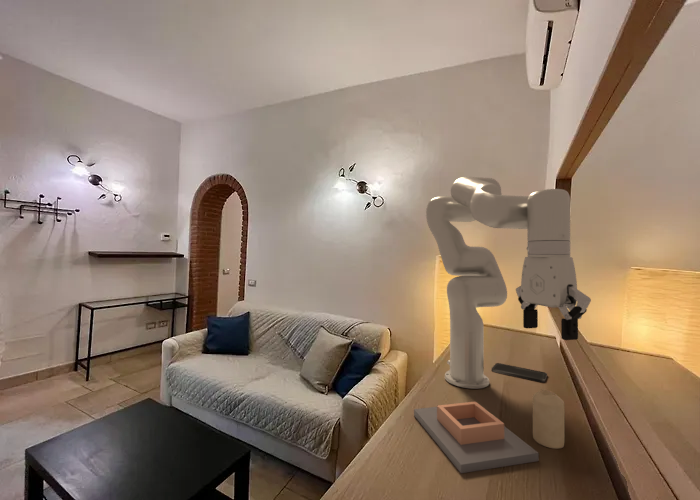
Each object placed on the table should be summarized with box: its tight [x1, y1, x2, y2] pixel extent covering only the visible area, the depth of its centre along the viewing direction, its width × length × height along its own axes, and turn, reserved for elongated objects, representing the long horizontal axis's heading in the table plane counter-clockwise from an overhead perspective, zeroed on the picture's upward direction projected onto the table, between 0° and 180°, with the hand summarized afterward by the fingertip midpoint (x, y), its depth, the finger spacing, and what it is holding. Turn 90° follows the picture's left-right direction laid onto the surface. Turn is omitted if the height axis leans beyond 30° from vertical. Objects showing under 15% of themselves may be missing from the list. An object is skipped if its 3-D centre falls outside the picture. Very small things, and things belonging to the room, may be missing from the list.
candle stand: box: [413, 401, 540, 474], centre depth 67 cm, size 20×16×4 cm
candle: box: [532, 389, 565, 450], centre depth 65 cm, size 6×6×10 cm
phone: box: [491, 362, 548, 383], centre depth 102 cm, size 8×1×15 cm
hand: (548, 333), depth 65 cm, fingers open, 9 cm apart
